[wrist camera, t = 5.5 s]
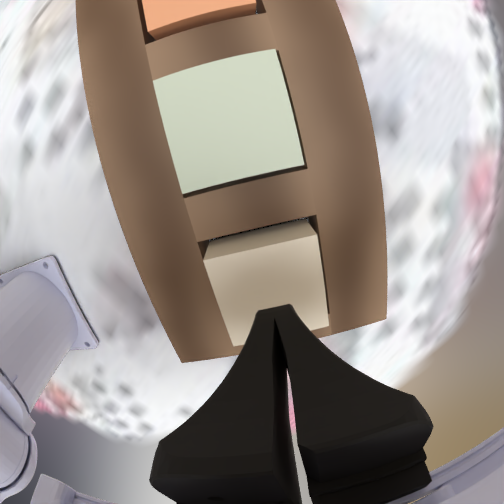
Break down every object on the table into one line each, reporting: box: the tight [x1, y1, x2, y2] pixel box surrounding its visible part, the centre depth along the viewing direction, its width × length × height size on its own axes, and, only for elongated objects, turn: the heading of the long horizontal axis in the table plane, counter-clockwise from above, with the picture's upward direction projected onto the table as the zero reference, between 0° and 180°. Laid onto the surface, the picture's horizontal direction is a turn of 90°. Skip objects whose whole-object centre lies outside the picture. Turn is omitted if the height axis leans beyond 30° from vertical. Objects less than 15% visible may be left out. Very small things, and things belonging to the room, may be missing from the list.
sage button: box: [153, 49, 304, 194], centre depth 11 cm, size 5×5×2 cm
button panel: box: [76, 0, 387, 363], centre depth 12 cm, size 13×25×2 cm, turn 13°
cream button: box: [203, 219, 329, 346], centre depth 14 cm, size 5×5×2 cm
